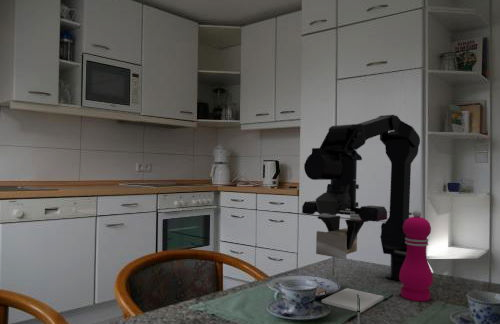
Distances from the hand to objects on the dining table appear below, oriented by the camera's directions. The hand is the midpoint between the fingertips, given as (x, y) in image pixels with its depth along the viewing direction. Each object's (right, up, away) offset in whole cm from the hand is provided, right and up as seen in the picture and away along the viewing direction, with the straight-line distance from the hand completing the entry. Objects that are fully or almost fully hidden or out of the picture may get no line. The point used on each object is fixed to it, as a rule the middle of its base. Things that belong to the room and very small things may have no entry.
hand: (341, 248), depth 94 cm
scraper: (0, -1, 0) cm, 1 cm away
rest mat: (+2, -11, -3) cm, 12 cm away
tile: (-6, -10, +3) cm, 12 cm away
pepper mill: (+17, -12, +1) cm, 21 cm away
